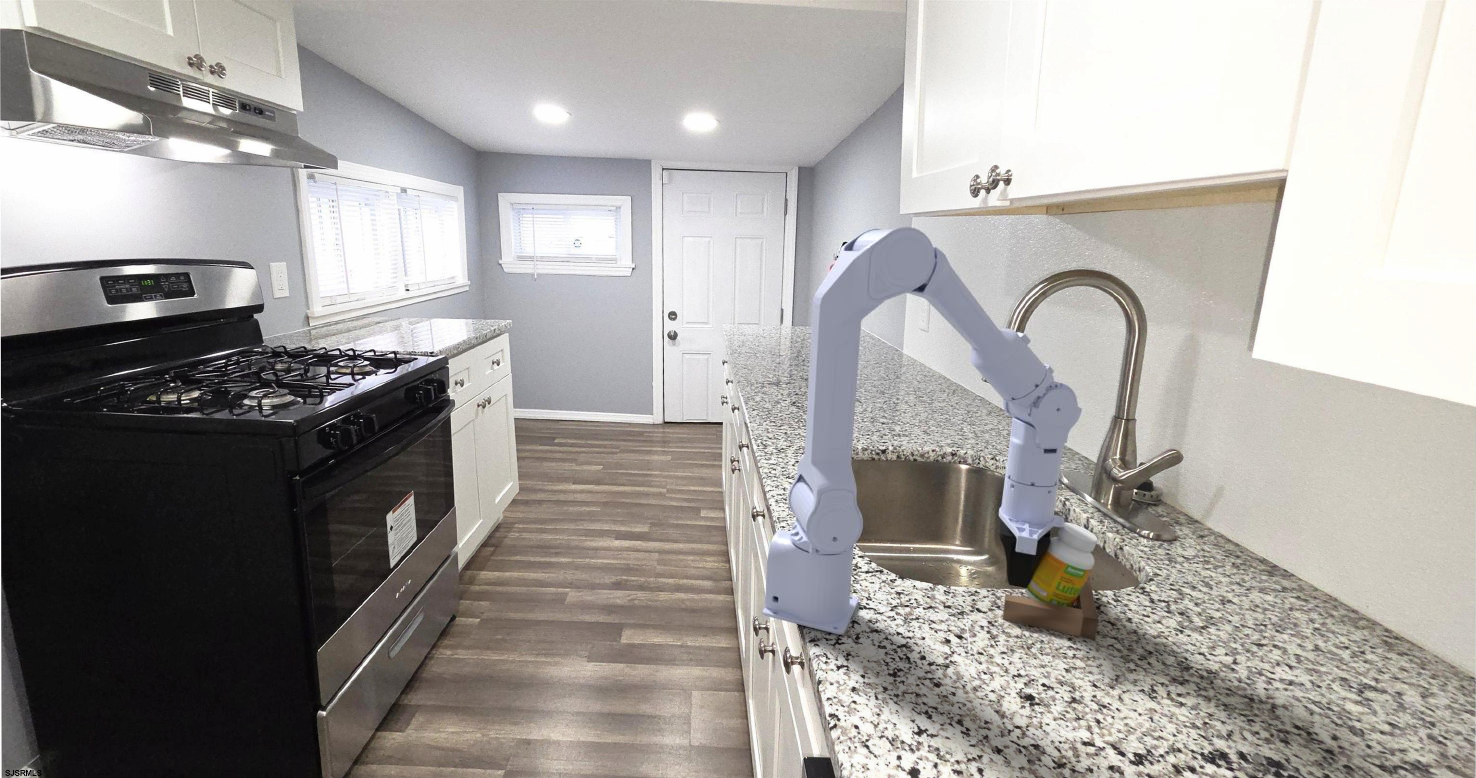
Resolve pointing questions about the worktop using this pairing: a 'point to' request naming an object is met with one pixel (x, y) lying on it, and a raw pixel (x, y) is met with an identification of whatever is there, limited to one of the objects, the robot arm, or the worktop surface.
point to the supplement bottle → (1063, 567)
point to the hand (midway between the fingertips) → (1017, 583)
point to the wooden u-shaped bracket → (1055, 613)
